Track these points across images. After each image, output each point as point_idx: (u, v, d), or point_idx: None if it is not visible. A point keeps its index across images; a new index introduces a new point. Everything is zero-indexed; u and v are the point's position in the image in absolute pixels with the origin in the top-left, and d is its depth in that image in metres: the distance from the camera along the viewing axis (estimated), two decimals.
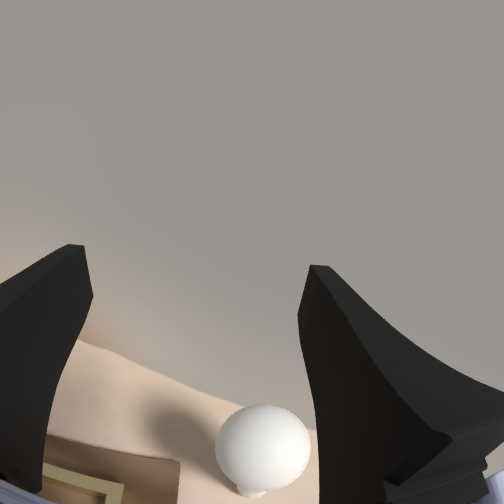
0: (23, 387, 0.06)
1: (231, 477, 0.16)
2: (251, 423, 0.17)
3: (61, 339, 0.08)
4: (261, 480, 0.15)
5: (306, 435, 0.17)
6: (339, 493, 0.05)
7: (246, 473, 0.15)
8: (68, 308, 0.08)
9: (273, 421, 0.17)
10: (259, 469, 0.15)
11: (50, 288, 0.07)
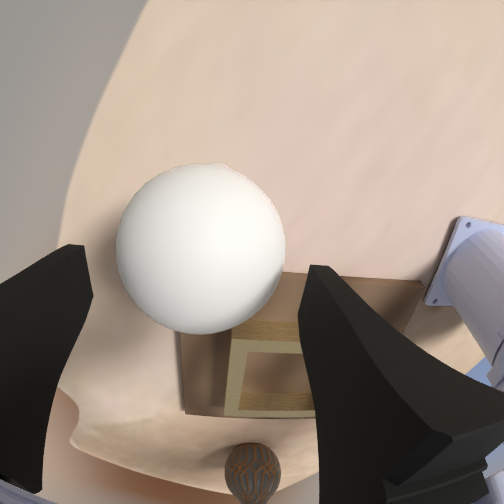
0: (23, 387, 0.06)
1: None
2: (183, 324, 0.10)
3: (61, 339, 0.08)
4: (279, 278, 0.11)
5: (199, 204, 0.09)
6: (340, 493, 0.05)
7: (265, 302, 0.12)
8: (68, 308, 0.08)
9: (180, 295, 0.09)
10: (267, 295, 0.11)
11: (50, 288, 0.07)
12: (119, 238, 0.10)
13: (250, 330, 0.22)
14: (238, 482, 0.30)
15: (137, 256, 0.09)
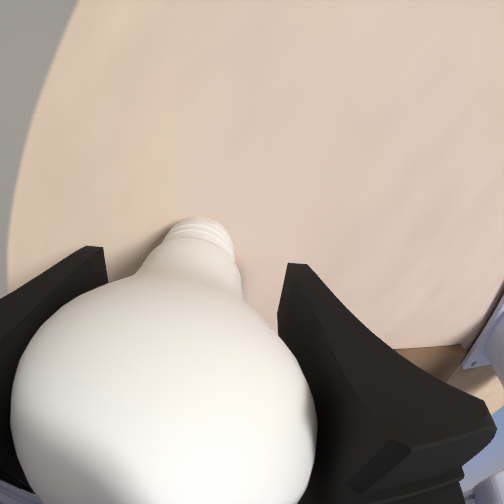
0: None
1: None
2: None
3: None
4: None
5: (124, 457, 0.03)
6: (309, 496, 0.05)
7: None
8: None
9: None
10: None
11: (71, 291, 0.07)
12: None
13: None
14: None
15: (38, 494, 0.03)
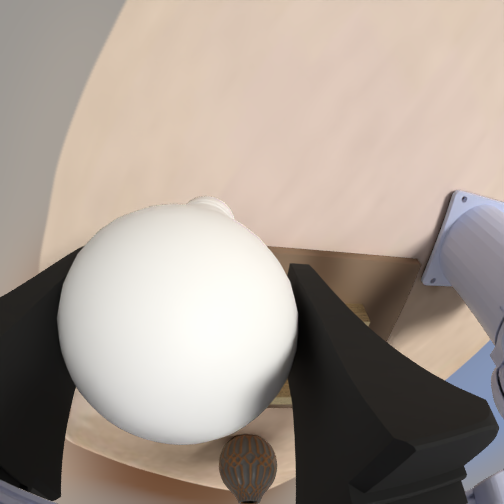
0: (43, 393, 0.06)
1: None
2: (148, 438, 0.06)
3: None
4: None
5: (166, 279, 0.05)
6: (312, 496, 0.05)
7: None
8: None
9: (138, 413, 0.05)
10: (270, 401, 0.07)
11: None
12: (58, 311, 0.06)
13: None
14: (232, 474, 0.30)
15: (76, 348, 0.05)
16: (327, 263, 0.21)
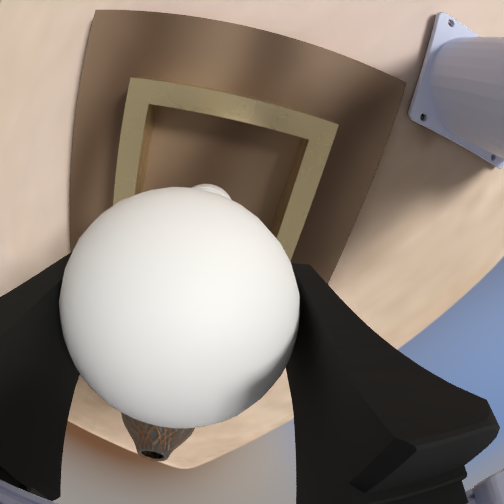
0: (42, 393, 0.06)
1: None
2: (151, 422, 0.06)
3: None
4: None
5: (168, 257, 0.05)
6: (313, 496, 0.05)
7: None
8: None
9: (141, 393, 0.05)
10: (273, 382, 0.07)
11: None
12: (60, 295, 0.06)
13: (159, 79, 0.14)
14: None
15: (78, 330, 0.05)
16: (280, 43, 0.14)
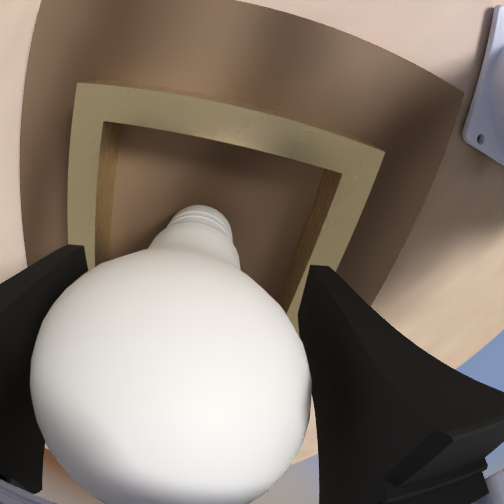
0: (23, 387, 0.06)
1: None
2: None
3: None
4: None
5: (148, 392, 0.04)
6: (339, 493, 0.05)
7: None
8: None
9: None
10: None
11: (50, 288, 0.07)
12: (31, 392, 0.05)
13: (121, 83, 0.09)
14: None
15: (55, 447, 0.04)
16: (300, 29, 0.09)
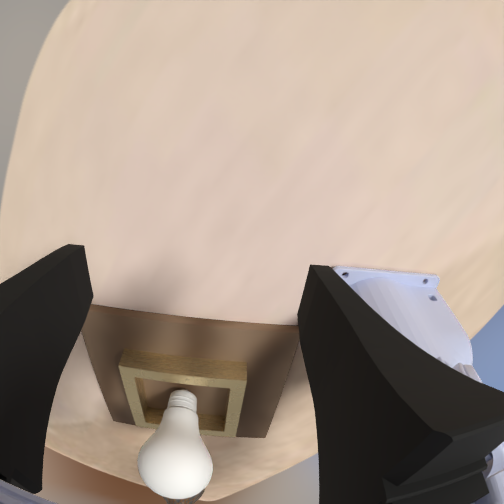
0: (23, 387, 0.06)
1: None
2: None
3: (61, 339, 0.08)
4: None
5: (167, 473, 0.19)
6: (340, 493, 0.05)
7: None
8: (68, 308, 0.08)
9: (167, 496, 0.19)
10: (204, 487, 0.20)
11: (50, 288, 0.07)
12: (139, 472, 0.20)
13: (135, 359, 0.24)
14: None
15: (149, 484, 0.19)
16: (203, 330, 0.24)
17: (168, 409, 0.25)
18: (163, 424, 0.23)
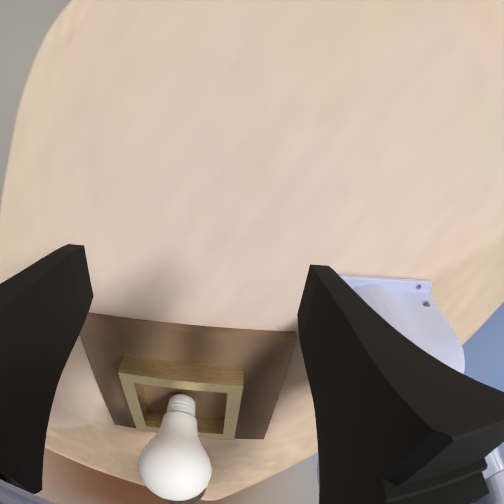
0: (23, 387, 0.06)
1: None
2: None
3: (61, 339, 0.08)
4: None
5: (167, 476, 0.19)
6: (339, 492, 0.05)
7: None
8: (68, 308, 0.08)
9: (168, 498, 0.19)
10: (203, 489, 0.21)
11: (50, 288, 0.07)
12: (140, 475, 0.20)
13: (134, 366, 0.25)
14: None
15: (149, 486, 0.19)
16: (200, 337, 0.25)
17: (167, 413, 0.25)
18: (163, 428, 0.24)
